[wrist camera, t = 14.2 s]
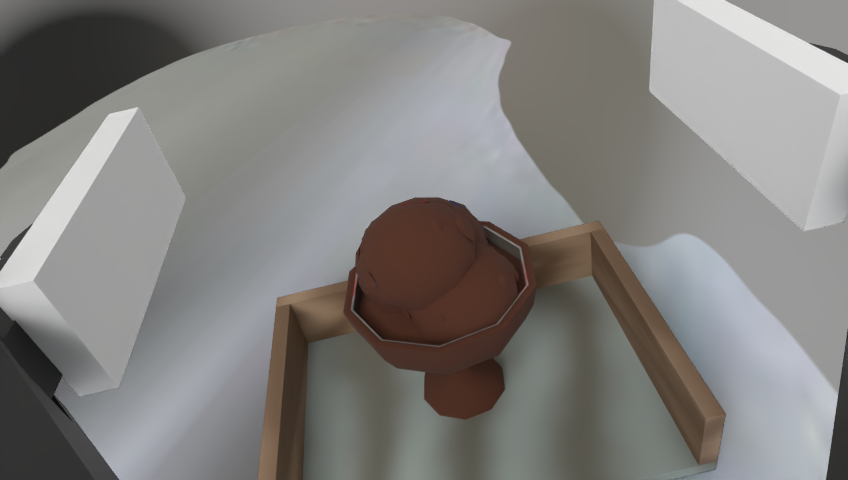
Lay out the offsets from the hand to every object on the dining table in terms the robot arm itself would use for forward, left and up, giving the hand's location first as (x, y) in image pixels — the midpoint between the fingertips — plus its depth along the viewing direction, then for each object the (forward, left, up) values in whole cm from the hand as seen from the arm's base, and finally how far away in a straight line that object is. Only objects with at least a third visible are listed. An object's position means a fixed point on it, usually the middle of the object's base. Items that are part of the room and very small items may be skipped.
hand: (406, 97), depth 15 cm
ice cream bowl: (-1, +11, -25) cm, 27 cm away
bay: (0, +10, -26) cm, 28 cm away
